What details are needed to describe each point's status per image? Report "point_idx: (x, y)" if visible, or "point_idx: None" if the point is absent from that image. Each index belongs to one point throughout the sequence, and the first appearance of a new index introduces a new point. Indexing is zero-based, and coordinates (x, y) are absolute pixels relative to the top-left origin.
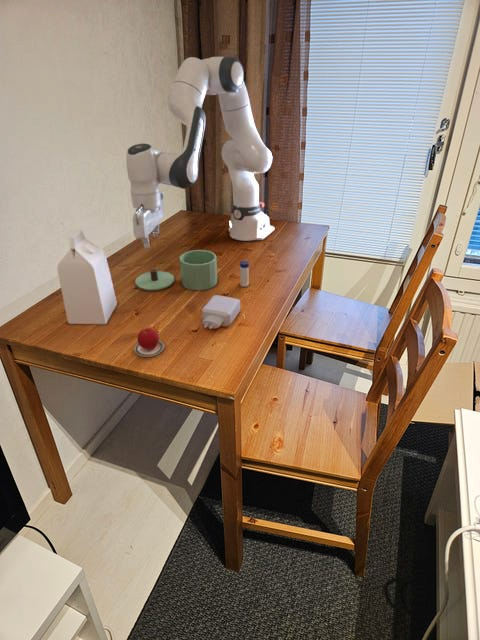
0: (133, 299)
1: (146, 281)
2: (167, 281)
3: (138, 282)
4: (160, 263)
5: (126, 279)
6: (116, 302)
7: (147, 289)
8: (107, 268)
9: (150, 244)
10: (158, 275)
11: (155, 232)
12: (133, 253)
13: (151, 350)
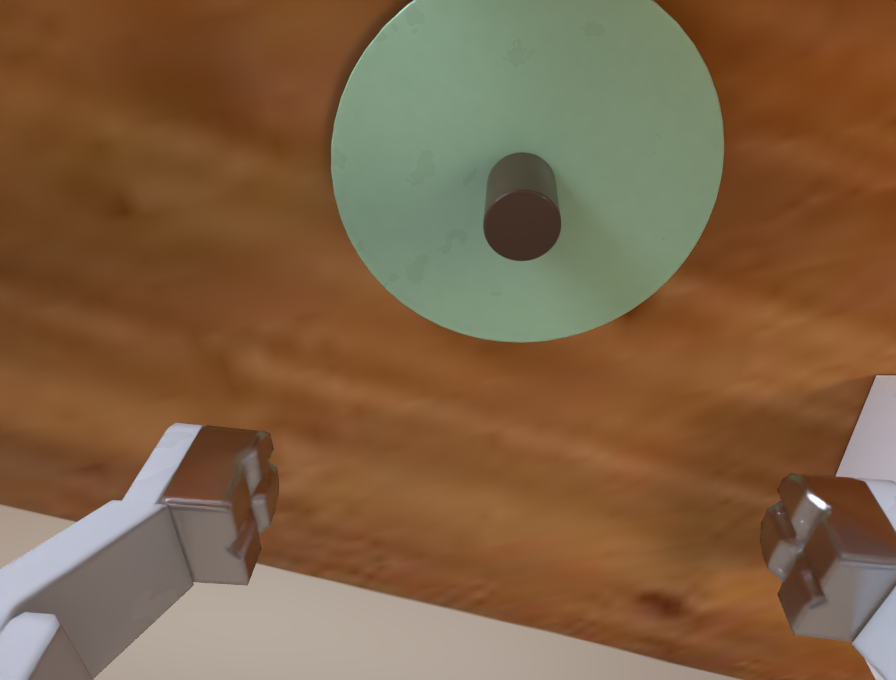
0: (829, 282)
1: (561, 251)
2: (562, 36)
3: (579, 311)
4: (124, 213)
5: (473, 399)
6: (894, 386)
7: (709, 208)
8: None
9: (810, 489)
10: (427, 169)
11: (238, 525)
12: (49, 441)
13: None
